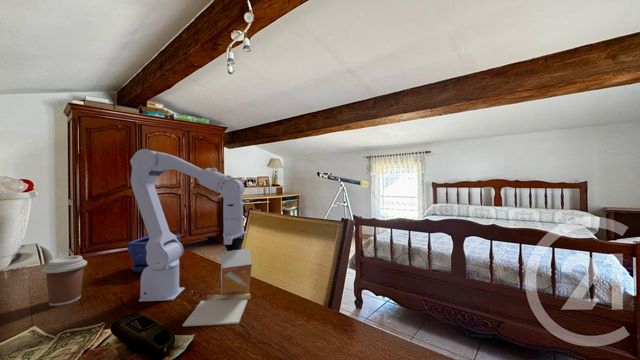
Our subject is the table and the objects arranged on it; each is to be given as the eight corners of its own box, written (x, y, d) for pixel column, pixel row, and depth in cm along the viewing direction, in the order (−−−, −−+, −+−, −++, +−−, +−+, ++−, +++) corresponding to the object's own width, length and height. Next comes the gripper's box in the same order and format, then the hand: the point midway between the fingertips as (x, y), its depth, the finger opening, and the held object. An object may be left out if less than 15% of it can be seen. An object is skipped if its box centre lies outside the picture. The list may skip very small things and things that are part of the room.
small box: (221, 298, 74) (221, 268, 68) (220, 281, 79) (220, 251, 73) (249, 293, 77) (252, 264, 71) (247, 276, 82) (249, 247, 76)
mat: (182, 326, 60) (182, 324, 60) (201, 302, 72) (201, 300, 72) (238, 323, 61) (238, 322, 61) (247, 300, 73) (247, 298, 73)
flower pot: (161, 274, 93) (161, 242, 93) (125, 274, 93) (126, 242, 93) (181, 263, 106) (181, 234, 106) (150, 262, 106) (150, 234, 106)
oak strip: (207, 301, 72) (207, 296, 72) (208, 300, 73) (208, 295, 73) (249, 299, 73) (249, 294, 73) (250, 298, 74) (250, 293, 74)
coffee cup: (34, 304, 70) (35, 261, 70) (76, 291, 79) (76, 253, 79) (52, 311, 67) (52, 266, 67) (93, 296, 75) (94, 256, 75)
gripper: (241, 221, 71) (242, 269, 71) (250, 214, 85) (251, 254, 85) (215, 222, 70) (216, 271, 70) (229, 215, 84) (229, 255, 84)
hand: (233, 262), depth 77 cm, fingers closed, pressing on small box
